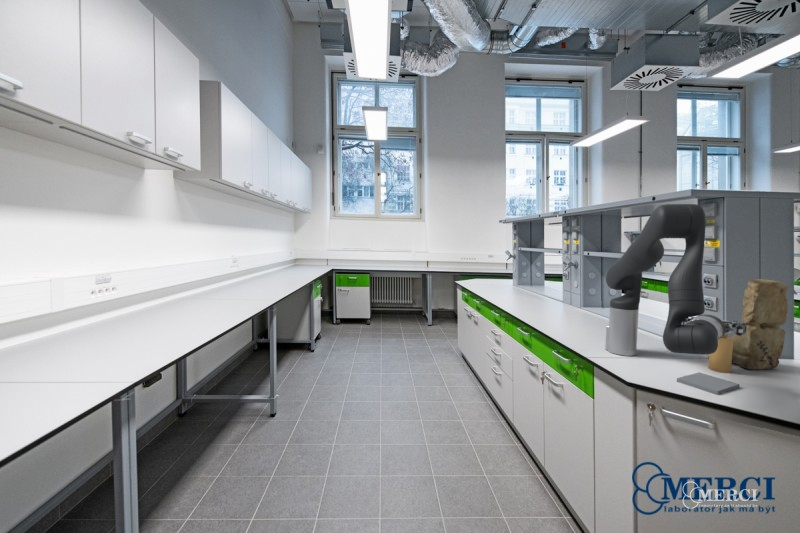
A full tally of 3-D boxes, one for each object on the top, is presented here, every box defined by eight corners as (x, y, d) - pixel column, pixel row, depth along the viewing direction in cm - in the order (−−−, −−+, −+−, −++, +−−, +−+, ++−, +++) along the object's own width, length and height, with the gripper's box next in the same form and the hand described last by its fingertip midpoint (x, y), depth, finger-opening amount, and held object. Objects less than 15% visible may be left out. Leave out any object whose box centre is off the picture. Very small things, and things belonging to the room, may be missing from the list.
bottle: (704, 368, 118) (707, 323, 117) (713, 365, 120) (716, 322, 119) (725, 374, 113) (728, 327, 112) (734, 371, 115) (738, 325, 114)
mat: (676, 381, 107) (676, 378, 107) (699, 375, 111) (699, 372, 111) (717, 394, 98) (717, 391, 97) (739, 387, 102) (739, 384, 102)
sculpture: (755, 361, 124) (762, 277, 122) (785, 371, 115) (793, 280, 113) (722, 362, 124) (728, 277, 121) (749, 372, 115) (756, 280, 112)
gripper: (740, 320, 92) (749, 313, 102) (673, 312, 103) (688, 306, 113) (739, 348, 92) (748, 338, 103) (672, 337, 103) (686, 329, 114)
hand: (716, 321), depth 108 cm, fingers open, 8 cm apart
